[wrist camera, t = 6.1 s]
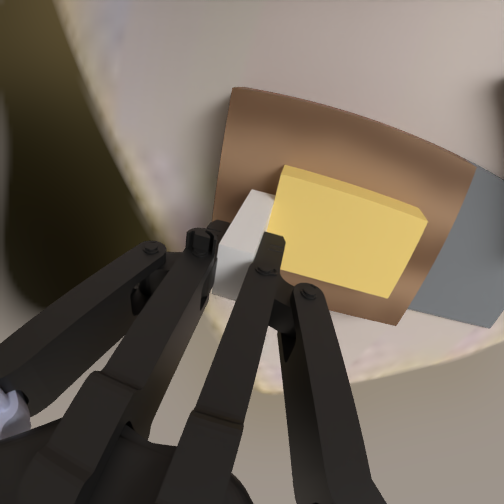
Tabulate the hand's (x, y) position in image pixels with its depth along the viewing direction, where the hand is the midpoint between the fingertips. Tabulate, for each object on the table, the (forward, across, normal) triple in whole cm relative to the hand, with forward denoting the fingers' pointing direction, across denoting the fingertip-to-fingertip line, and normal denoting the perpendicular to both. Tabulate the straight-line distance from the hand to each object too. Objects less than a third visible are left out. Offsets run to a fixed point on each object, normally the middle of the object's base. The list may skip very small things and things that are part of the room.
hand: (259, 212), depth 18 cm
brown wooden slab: (+4, +5, 0) cm, 6 cm away
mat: (+4, +20, 0) cm, 20 cm away
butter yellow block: (+1, +5, 0) cm, 5 cm away
